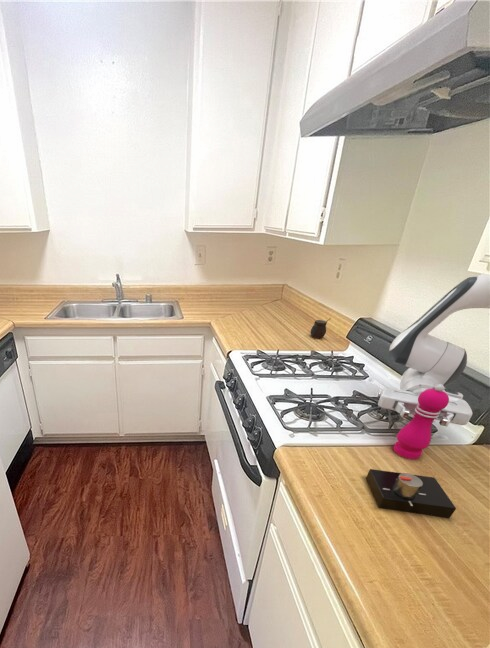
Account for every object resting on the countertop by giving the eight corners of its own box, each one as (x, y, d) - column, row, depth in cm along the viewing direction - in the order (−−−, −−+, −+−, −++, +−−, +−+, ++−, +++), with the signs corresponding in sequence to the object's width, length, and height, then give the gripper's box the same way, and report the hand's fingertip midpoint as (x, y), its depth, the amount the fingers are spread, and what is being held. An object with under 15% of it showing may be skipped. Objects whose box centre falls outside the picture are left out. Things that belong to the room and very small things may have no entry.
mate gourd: (309, 334, 178) (314, 314, 172) (324, 336, 176) (330, 316, 170) (309, 338, 172) (314, 318, 167) (325, 340, 170) (331, 319, 165)
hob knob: (411, 486, 76) (418, 473, 74) (419, 500, 73) (427, 487, 71) (389, 483, 77) (396, 470, 75) (396, 497, 74) (404, 483, 71)
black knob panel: (428, 487, 81) (435, 476, 79) (452, 523, 72) (460, 512, 70) (365, 478, 83) (370, 468, 81) (380, 512, 74) (386, 501, 72)
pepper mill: (404, 442, 96) (437, 376, 85) (428, 457, 91) (467, 389, 80) (384, 447, 94) (416, 380, 83) (407, 462, 89) (444, 393, 78)
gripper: (382, 378, 98) (382, 397, 88) (470, 395, 91) (481, 418, 80) (374, 397, 102) (373, 418, 92) (458, 415, 94) (467, 440, 84)
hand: (424, 418), depth 86 cm, fingers open, 7 cm apart
